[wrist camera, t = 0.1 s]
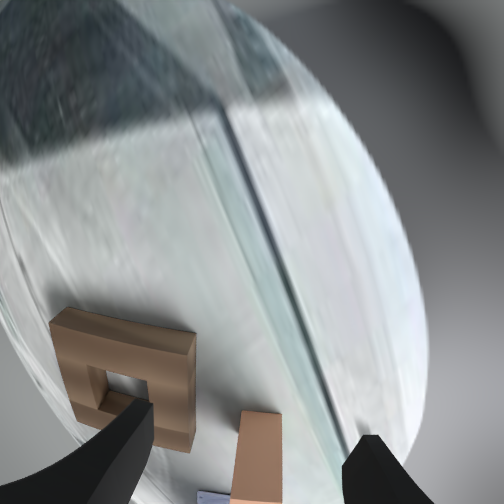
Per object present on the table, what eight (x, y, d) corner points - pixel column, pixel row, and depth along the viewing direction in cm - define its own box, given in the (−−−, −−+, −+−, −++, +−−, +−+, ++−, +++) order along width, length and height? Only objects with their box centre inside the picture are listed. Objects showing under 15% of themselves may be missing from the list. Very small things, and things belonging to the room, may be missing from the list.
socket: (195, 431, 22) (189, 453, 20) (88, 403, 22) (77, 421, 20) (196, 333, 19) (187, 355, 17) (67, 306, 20) (48, 322, 17)
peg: (275, 437, 22) (274, 519, 14) (238, 433, 22) (227, 516, 14) (281, 414, 21) (282, 502, 13) (241, 410, 21) (230, 498, 14)
